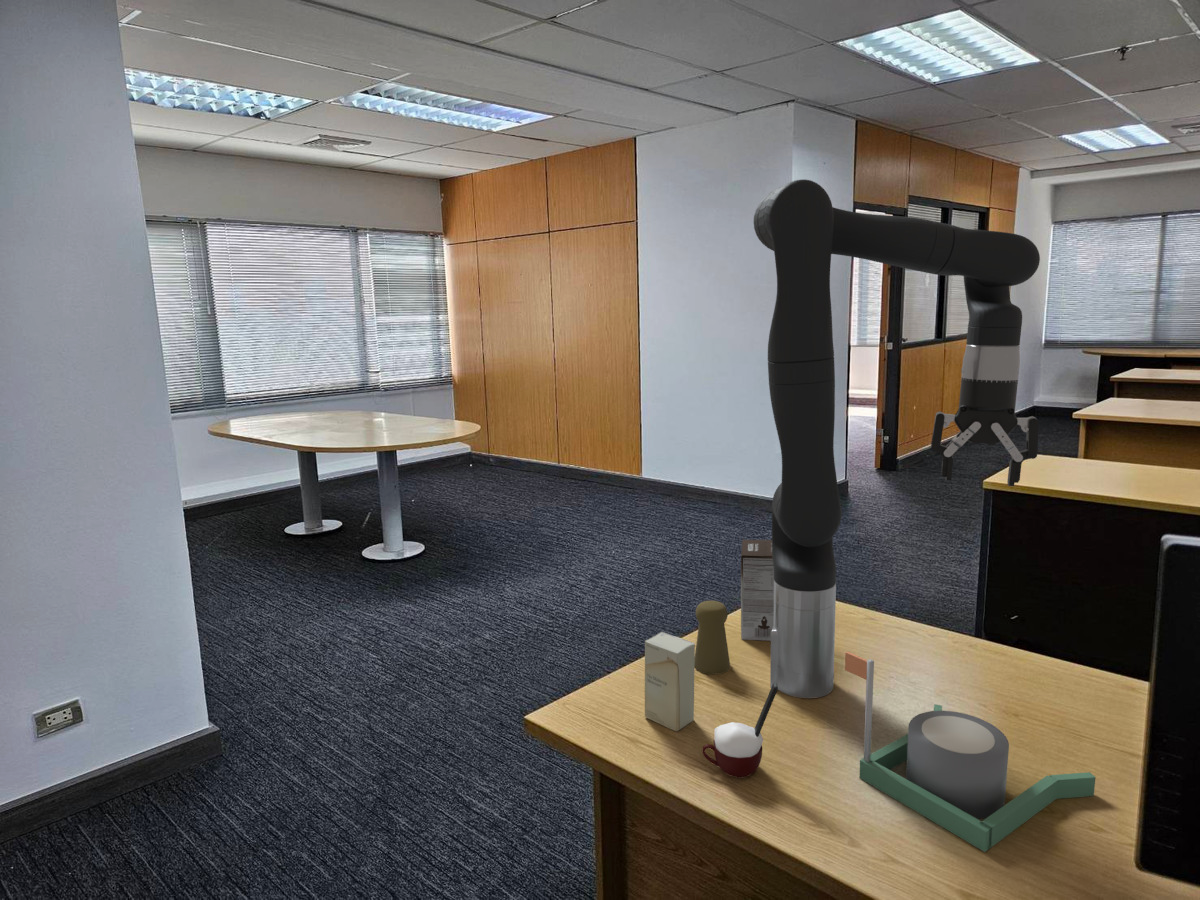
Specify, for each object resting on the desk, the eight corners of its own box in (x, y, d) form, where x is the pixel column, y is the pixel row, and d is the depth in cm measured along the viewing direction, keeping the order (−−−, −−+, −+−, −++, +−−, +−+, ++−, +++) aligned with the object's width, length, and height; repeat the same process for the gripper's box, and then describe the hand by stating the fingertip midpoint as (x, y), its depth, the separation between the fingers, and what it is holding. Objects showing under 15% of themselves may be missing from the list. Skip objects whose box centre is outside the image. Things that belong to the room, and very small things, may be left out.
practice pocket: (931, 717, 110) (936, 612, 107) (1095, 794, 92) (1107, 671, 89) (840, 766, 99) (843, 651, 96) (1005, 864, 81) (1016, 727, 78)
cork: (708, 653, 132) (708, 593, 129) (737, 664, 127) (737, 602, 125) (686, 666, 127) (685, 604, 125) (715, 677, 123) (715, 614, 121)
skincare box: (643, 717, 112) (641, 640, 110) (662, 705, 115) (661, 630, 113) (678, 733, 108) (676, 653, 106) (696, 720, 111) (695, 642, 109)
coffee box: (741, 619, 145) (741, 538, 142) (776, 620, 144) (776, 539, 141) (740, 640, 136) (740, 554, 133) (777, 642, 135) (778, 555, 132)
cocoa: (699, 776, 99) (693, 691, 96) (716, 749, 104) (710, 668, 102) (771, 793, 94) (767, 705, 92) (785, 764, 100) (781, 680, 97)
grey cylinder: (904, 807, 91) (907, 749, 89) (907, 756, 101) (909, 703, 99) (1008, 829, 87) (1013, 768, 85) (1000, 773, 97) (1004, 718, 95)
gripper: (937, 376, 112) (928, 483, 115) (1048, 380, 107) (1036, 492, 110) (936, 372, 119) (927, 473, 122) (1040, 375, 114) (1028, 481, 117)
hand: (979, 482), depth 116 cm, fingers open, 8 cm apart
